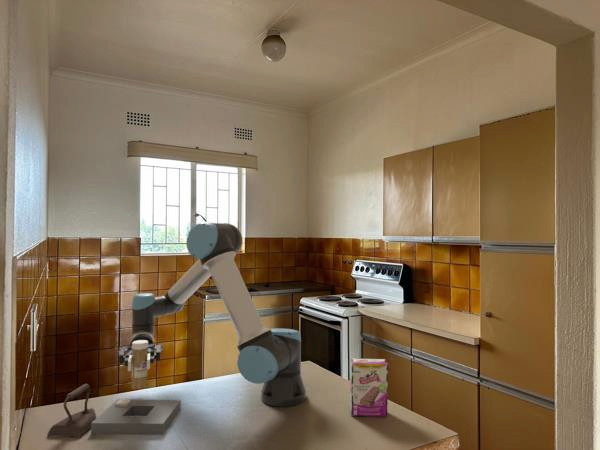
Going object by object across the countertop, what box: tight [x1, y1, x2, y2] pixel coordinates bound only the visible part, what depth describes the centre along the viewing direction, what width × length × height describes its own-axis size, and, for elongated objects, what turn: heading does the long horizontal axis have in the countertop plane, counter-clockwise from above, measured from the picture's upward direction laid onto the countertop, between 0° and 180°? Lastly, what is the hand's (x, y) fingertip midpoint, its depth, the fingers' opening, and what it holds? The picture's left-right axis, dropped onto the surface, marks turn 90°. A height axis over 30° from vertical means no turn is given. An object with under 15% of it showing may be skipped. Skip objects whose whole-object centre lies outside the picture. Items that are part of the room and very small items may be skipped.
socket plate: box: [90, 399, 182, 436], centre depth 119 cm, size 20×16×4 cm
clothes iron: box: [47, 383, 97, 439], centre depth 116 cm, size 14×10×11 cm
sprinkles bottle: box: [130, 340, 148, 390], centre depth 119 cm, size 5×5×13 cm
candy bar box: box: [349, 357, 389, 418], centre depth 125 cm, size 11×5×16 cm, turn 89°
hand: (138, 365), depth 114 cm, fingers closed on sprinkles bottle, 4 cm apart
